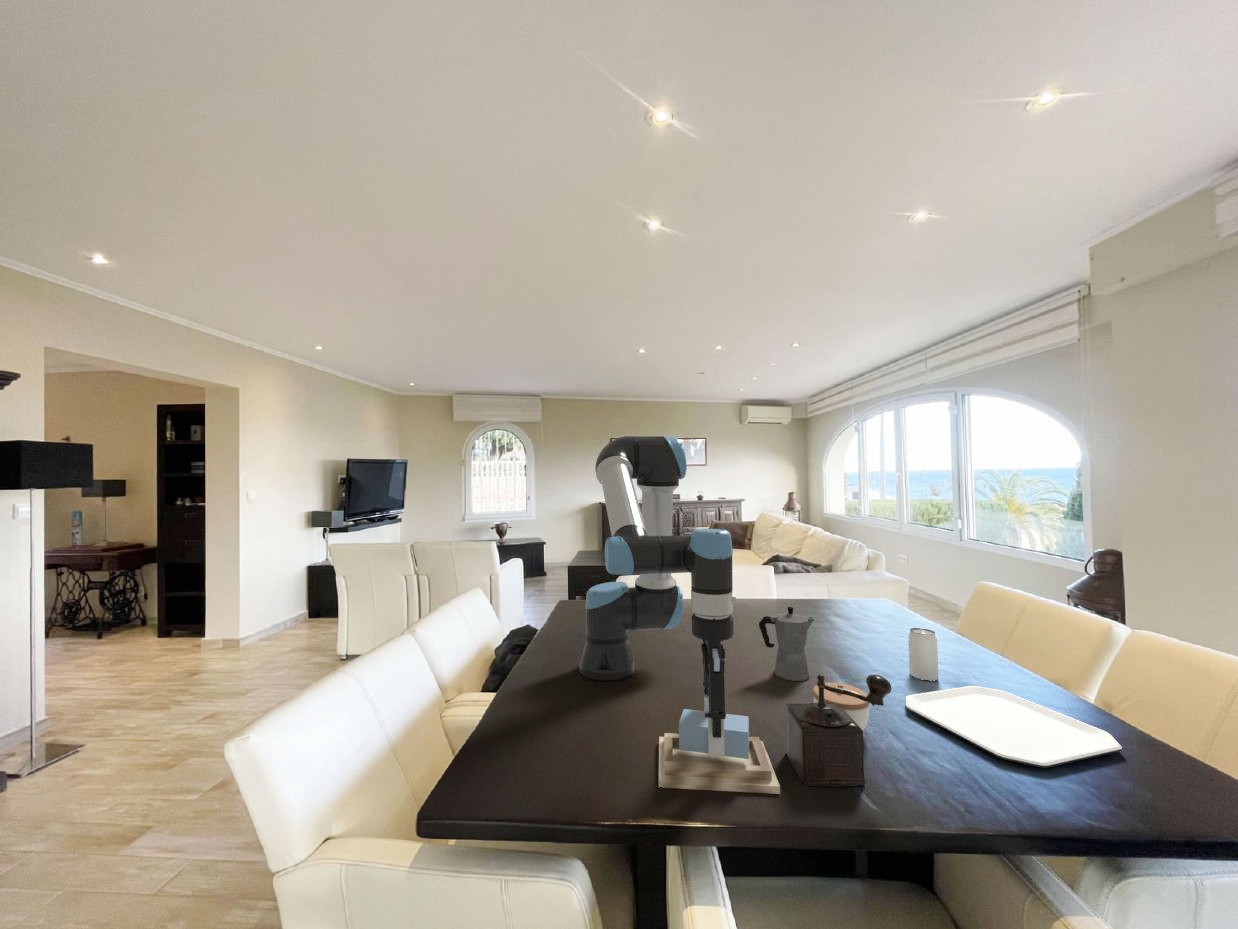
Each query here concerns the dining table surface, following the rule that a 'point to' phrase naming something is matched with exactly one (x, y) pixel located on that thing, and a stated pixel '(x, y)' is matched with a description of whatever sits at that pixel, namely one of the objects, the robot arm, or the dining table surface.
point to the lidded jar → (846, 702)
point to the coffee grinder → (829, 737)
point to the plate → (1012, 726)
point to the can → (923, 654)
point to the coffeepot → (789, 644)
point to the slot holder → (715, 769)
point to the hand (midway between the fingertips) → (714, 742)
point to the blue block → (696, 733)
